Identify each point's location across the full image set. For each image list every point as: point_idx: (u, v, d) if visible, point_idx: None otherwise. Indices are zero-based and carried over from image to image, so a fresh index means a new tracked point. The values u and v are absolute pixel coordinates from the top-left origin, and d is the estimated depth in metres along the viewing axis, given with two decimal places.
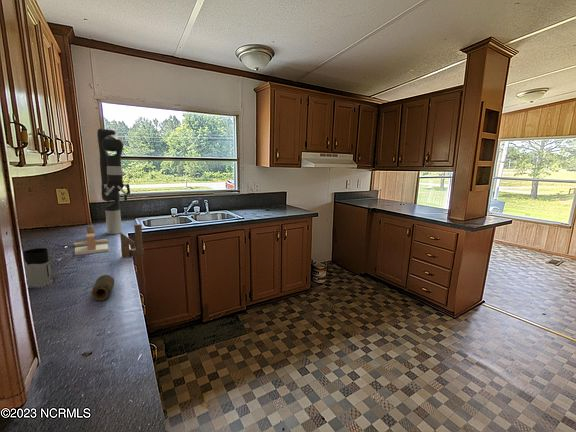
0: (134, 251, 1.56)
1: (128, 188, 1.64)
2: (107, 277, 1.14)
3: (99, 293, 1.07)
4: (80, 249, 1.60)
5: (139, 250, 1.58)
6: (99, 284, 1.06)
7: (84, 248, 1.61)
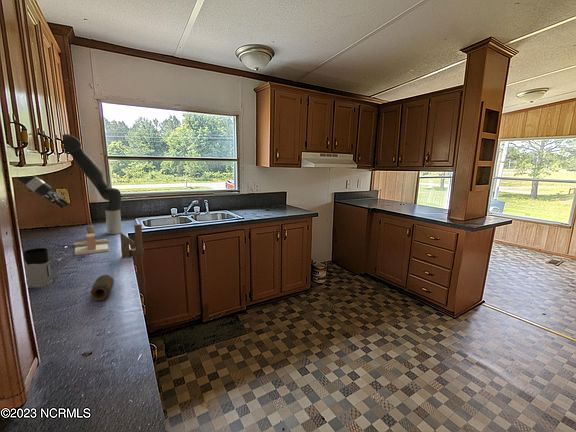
0: (134, 251, 1.56)
1: None
2: (106, 277, 1.14)
3: (98, 293, 1.07)
4: (80, 249, 1.60)
5: (139, 250, 1.58)
6: (98, 284, 1.06)
7: (84, 248, 1.61)
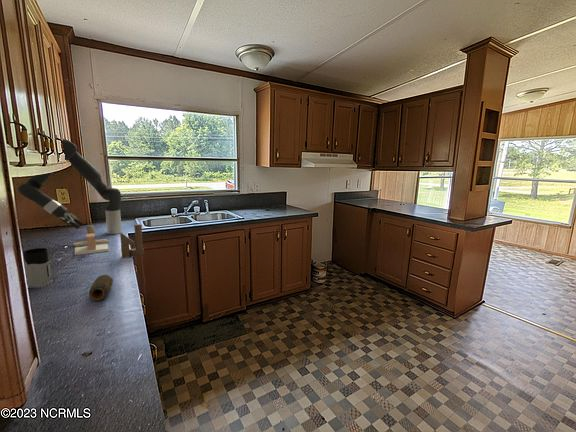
0: (134, 251, 1.56)
1: None
2: (105, 277, 1.14)
3: (96, 293, 1.07)
4: (80, 249, 1.60)
5: (139, 250, 1.58)
6: (96, 284, 1.06)
7: (84, 248, 1.61)
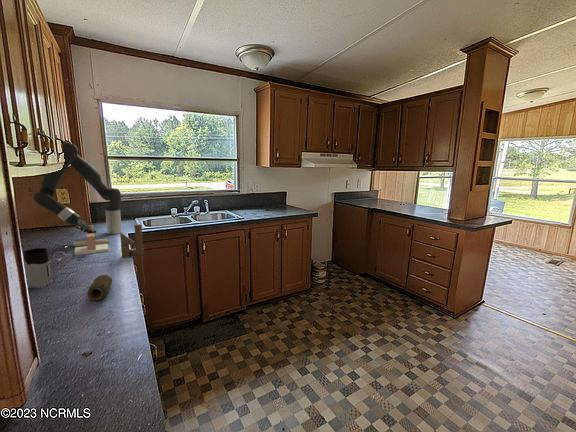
0: (134, 251, 1.56)
1: None
2: (104, 277, 1.14)
3: (95, 293, 1.07)
4: (80, 249, 1.60)
5: (139, 250, 1.58)
6: (95, 284, 1.06)
7: (84, 248, 1.61)
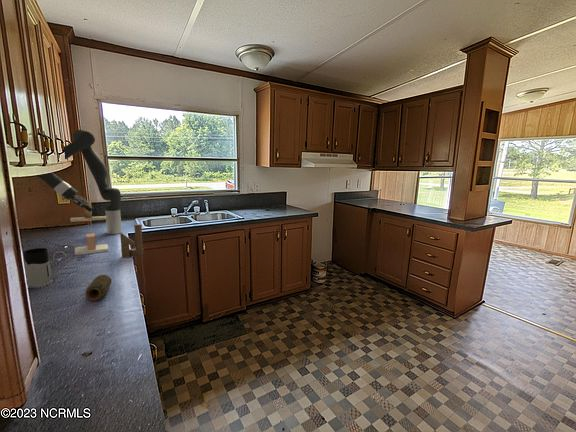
0: (134, 251, 1.56)
1: None
2: (103, 277, 1.14)
3: (93, 293, 1.07)
4: (80, 249, 1.60)
5: (139, 250, 1.58)
6: (93, 284, 1.06)
7: (84, 248, 1.61)
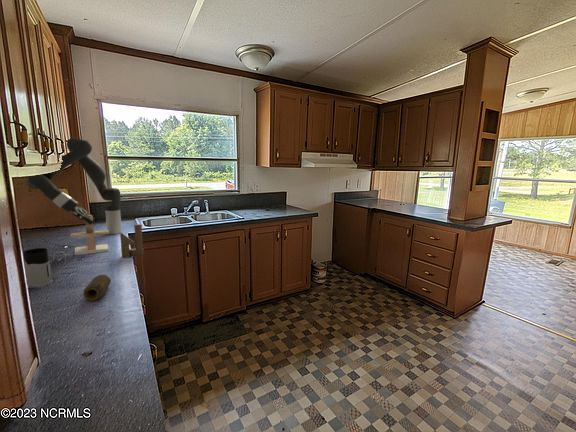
0: (134, 251, 1.56)
1: None
2: (102, 277, 1.13)
3: (91, 293, 1.07)
4: (80, 249, 1.60)
5: (139, 250, 1.58)
6: (91, 284, 1.06)
7: (84, 248, 1.61)
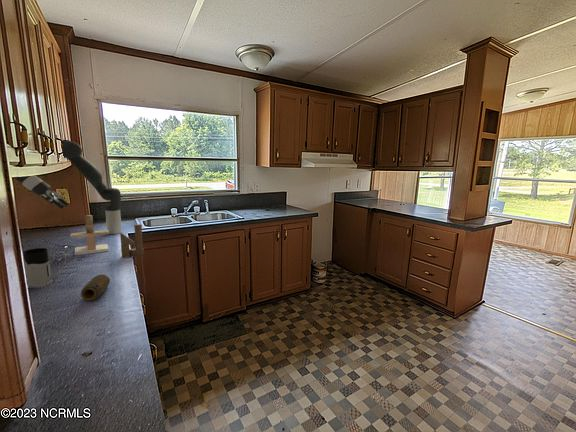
0: (134, 251, 1.56)
1: None
2: (101, 277, 1.13)
3: (89, 293, 1.06)
4: (80, 249, 1.60)
5: (139, 250, 1.58)
6: (88, 284, 1.06)
7: (84, 248, 1.61)
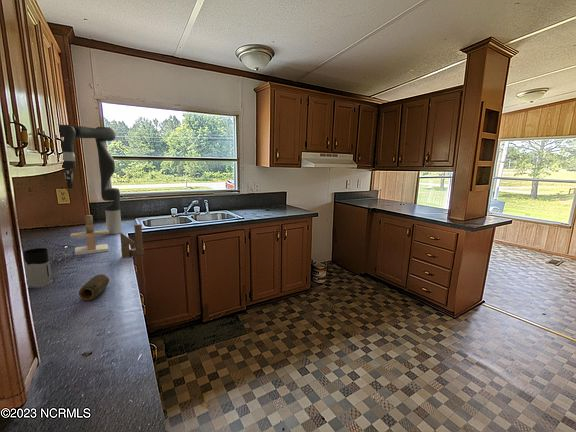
0: (134, 251, 1.56)
1: (65, 175, 1.57)
2: (100, 277, 1.13)
3: (87, 293, 1.06)
4: (80, 249, 1.60)
5: (139, 250, 1.58)
6: (86, 284, 1.05)
7: (84, 248, 1.61)
